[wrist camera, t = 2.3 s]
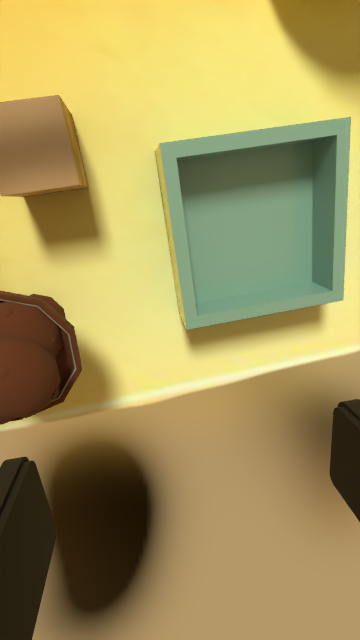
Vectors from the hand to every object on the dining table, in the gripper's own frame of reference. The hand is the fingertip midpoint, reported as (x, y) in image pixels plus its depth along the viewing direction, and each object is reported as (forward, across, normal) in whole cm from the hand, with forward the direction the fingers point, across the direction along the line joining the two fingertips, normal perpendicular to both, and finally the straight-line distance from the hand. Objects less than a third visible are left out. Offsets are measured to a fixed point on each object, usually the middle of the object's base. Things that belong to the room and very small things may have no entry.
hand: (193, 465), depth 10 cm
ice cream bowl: (+27, +12, +3) cm, 30 cm away
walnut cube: (+26, +8, -13) cm, 30 cm away
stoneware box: (+27, -10, -4) cm, 29 cm away
